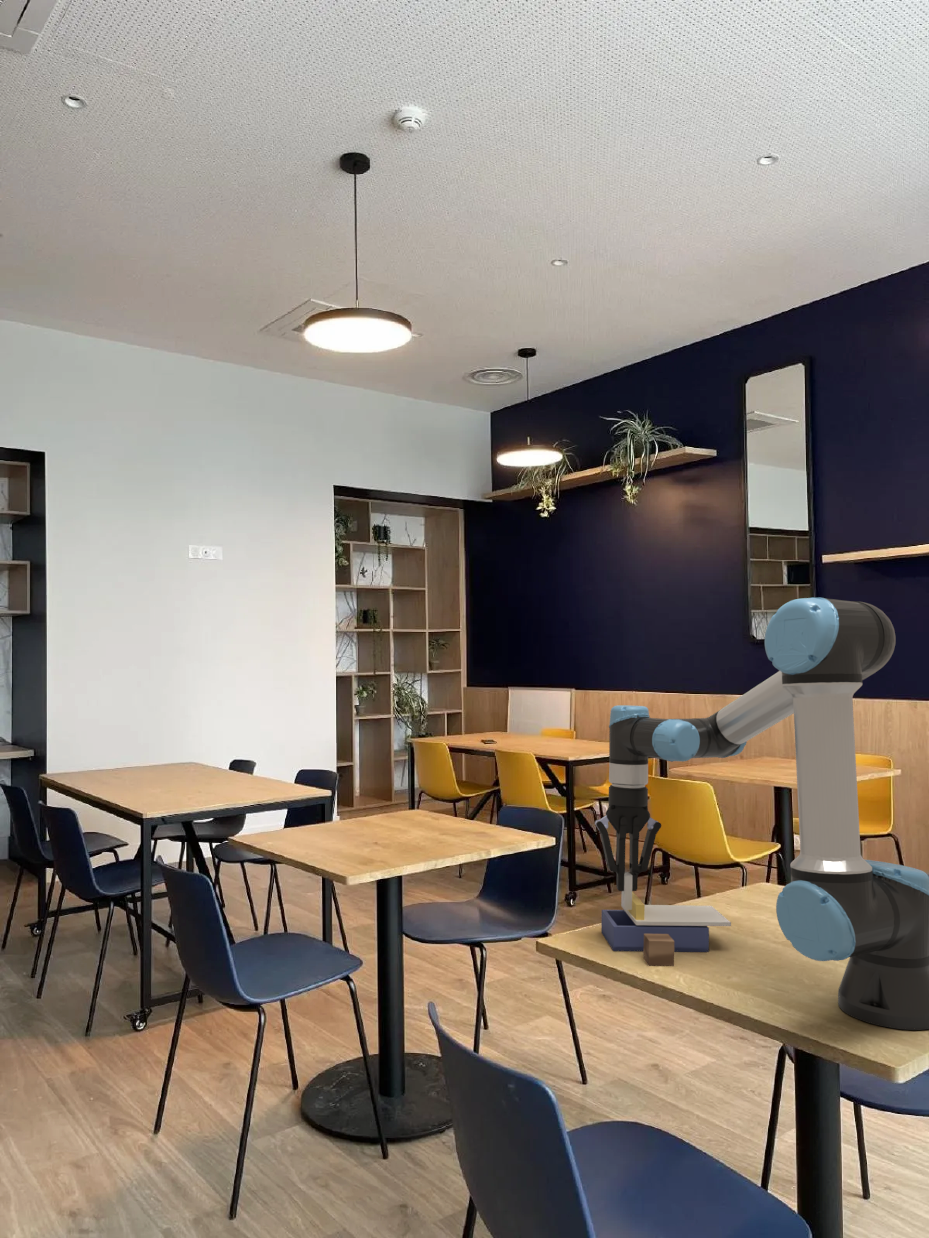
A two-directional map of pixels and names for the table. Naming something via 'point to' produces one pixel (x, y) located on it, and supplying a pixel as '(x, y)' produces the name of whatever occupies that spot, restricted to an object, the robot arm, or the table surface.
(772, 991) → the table surface
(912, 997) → the robot arm
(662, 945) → the block
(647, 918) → the lid
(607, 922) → the blue tray
